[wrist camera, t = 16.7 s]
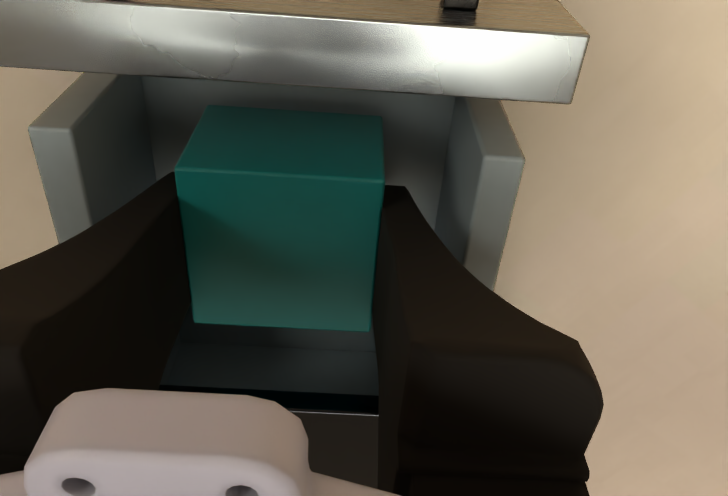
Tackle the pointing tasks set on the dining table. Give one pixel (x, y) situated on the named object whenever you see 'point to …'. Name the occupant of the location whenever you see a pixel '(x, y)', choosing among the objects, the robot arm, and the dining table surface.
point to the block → (282, 217)
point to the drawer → (302, 93)
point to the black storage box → (326, 428)
